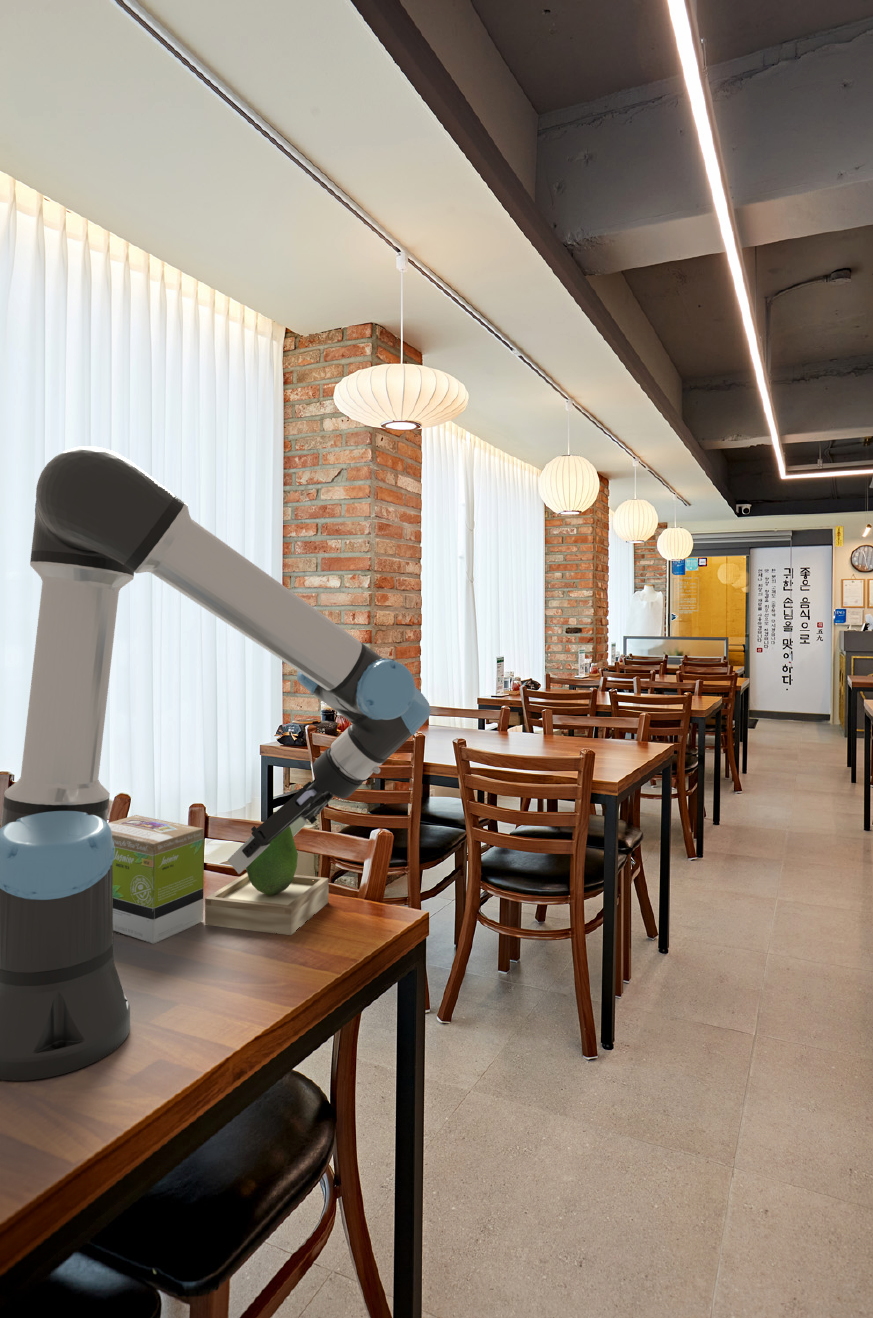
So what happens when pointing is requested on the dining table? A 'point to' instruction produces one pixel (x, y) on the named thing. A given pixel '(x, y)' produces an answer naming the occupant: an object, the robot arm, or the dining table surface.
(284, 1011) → the dining table surface
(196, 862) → the tea box
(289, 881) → the avocado
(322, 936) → the dining table surface
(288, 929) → the wooden tray
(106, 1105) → the dining table surface
